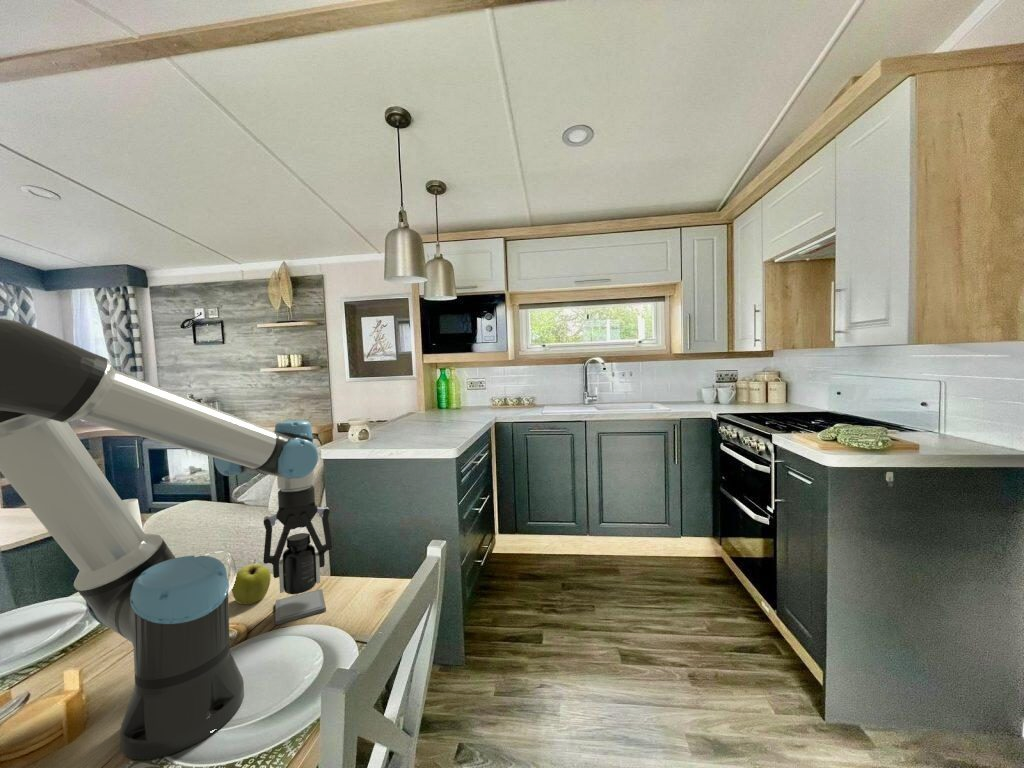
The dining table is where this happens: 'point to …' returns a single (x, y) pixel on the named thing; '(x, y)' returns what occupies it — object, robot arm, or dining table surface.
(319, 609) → the slate coaster
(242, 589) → the apple
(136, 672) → the robot arm
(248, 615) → the dining table surface
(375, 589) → the dining table surface
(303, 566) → the supplement bottle
